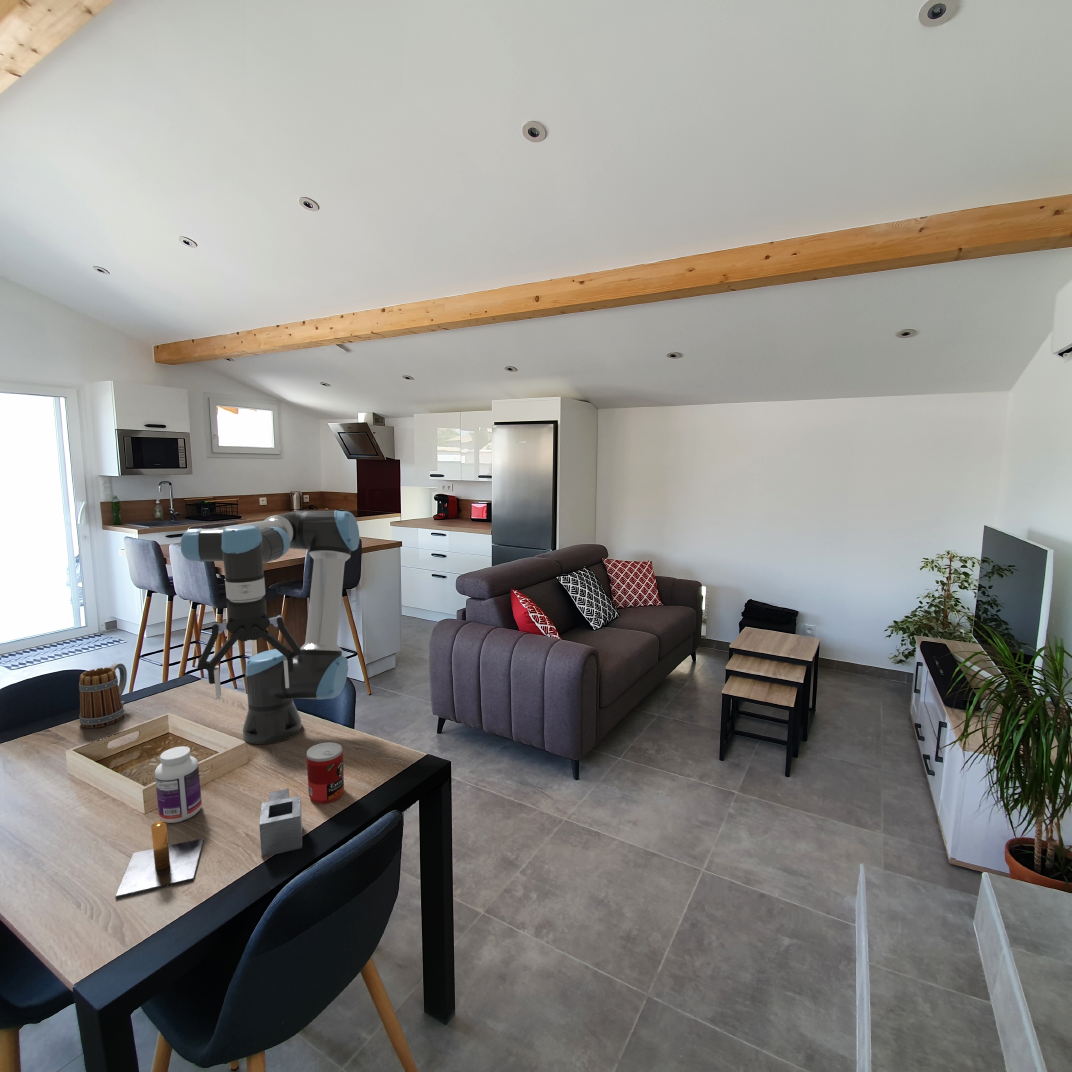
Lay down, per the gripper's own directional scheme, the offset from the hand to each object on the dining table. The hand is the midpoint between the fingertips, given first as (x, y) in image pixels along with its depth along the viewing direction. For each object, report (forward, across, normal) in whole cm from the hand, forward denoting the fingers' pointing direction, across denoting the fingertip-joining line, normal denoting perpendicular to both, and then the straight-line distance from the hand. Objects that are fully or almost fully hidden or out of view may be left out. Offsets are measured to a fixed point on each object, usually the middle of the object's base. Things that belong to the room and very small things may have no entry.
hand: (253, 691), depth 127 cm
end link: (+26, +4, -17) cm, 31 cm away
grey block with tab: (+26, +3, -8) cm, 28 cm away
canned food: (+27, +14, -4) cm, 30 cm away
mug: (+28, -42, +65) cm, 82 cm away
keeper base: (+26, -17, -16) cm, 35 cm away
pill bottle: (+26, -16, +2) cm, 31 cm away
